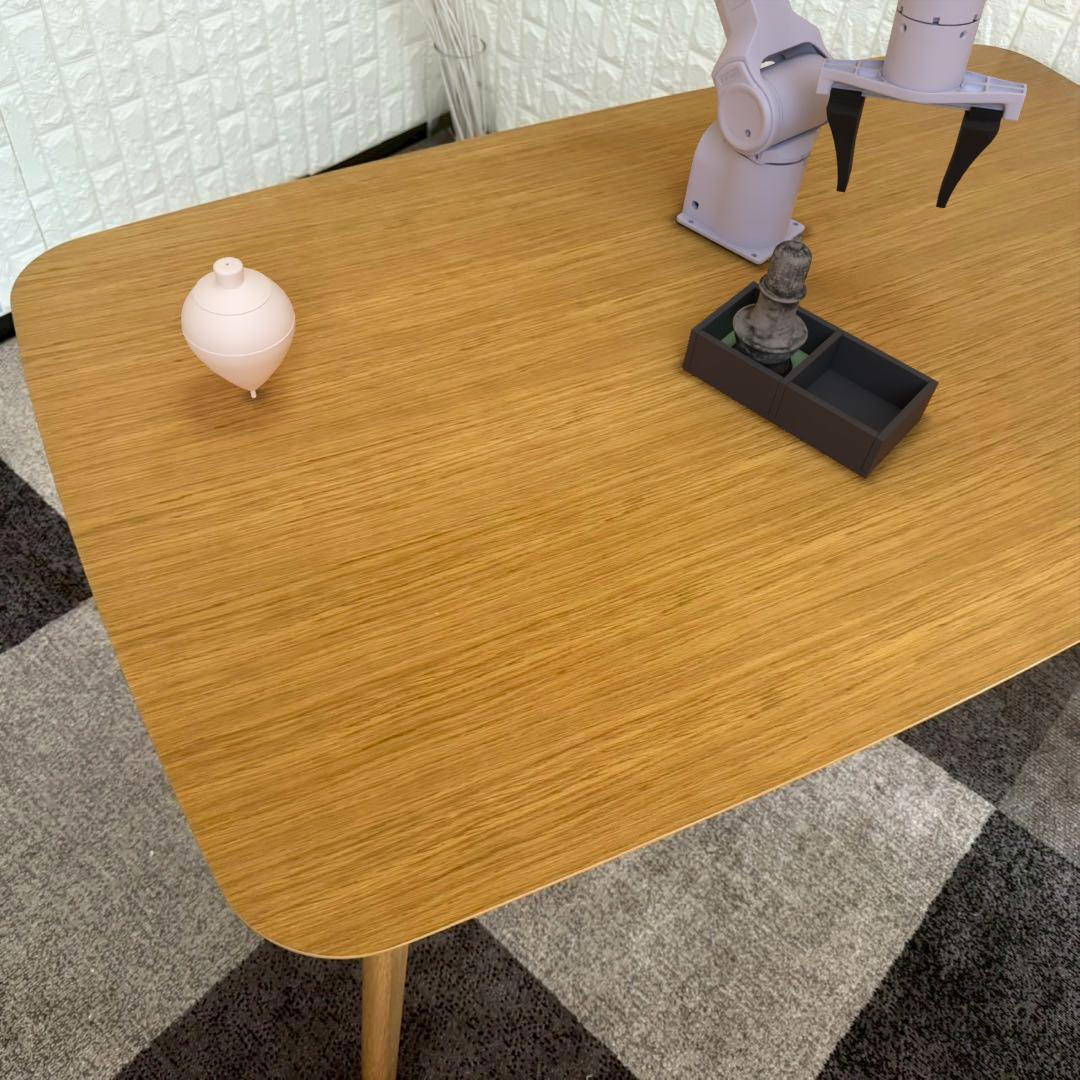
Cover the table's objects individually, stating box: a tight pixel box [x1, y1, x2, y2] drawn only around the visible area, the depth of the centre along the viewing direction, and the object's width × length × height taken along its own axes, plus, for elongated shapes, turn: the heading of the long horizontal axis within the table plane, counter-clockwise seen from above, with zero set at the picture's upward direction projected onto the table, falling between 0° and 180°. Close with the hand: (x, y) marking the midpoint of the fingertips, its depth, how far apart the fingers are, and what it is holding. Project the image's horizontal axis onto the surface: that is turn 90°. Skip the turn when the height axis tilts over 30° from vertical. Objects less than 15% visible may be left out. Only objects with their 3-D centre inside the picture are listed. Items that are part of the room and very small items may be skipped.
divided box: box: [682, 280, 940, 479], centre depth 79 cm, size 17×9×4 cm, turn 49°
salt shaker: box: [731, 234, 813, 378], centre depth 77 cm, size 6×6×12 cm
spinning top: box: [180, 256, 296, 399], centre depth 72 cm, size 8×8×12 cm
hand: (891, 194), depth 81 cm, fingers open, 7 cm apart
